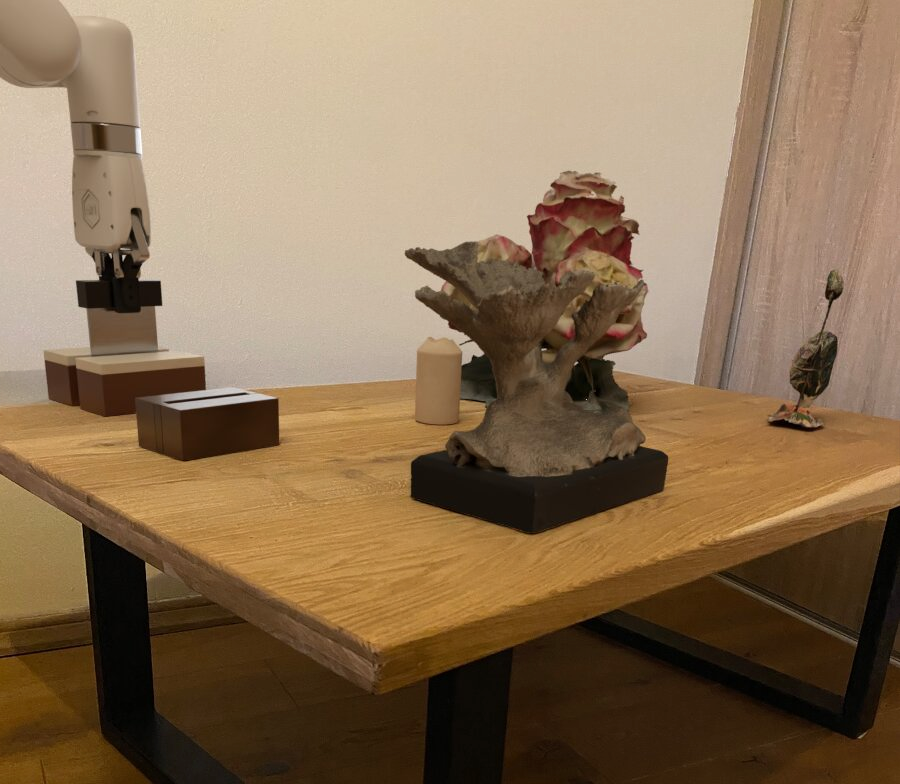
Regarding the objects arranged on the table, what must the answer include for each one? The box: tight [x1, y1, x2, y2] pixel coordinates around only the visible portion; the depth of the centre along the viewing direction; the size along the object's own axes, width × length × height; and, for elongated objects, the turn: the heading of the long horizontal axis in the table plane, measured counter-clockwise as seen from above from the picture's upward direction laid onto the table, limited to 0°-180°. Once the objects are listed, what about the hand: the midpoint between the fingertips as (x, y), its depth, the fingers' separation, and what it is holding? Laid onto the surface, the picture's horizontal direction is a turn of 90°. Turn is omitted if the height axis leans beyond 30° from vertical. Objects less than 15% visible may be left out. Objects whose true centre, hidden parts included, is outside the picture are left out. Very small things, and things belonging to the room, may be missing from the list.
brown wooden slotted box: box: [135, 386, 280, 462], centre depth 96 cm, size 12×8×5 cm, turn 139°
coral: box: [404, 240, 669, 534], centre depth 83 cm, size 25×20×21 cm
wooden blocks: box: [42, 346, 207, 418], centre depth 116 cm, size 14×14×6 cm
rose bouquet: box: [440, 170, 650, 414], centre depth 126 cm, size 26×29×30 cm
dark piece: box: [75, 278, 163, 357], centre depth 114 cm, size 10×2×10 cm, turn 139°
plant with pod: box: [766, 268, 845, 429], centre depth 122 cm, size 8×11×20 cm
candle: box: [414, 336, 463, 426], centre depth 114 cm, size 6×6×10 cm
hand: (121, 310), depth 113 cm, fingers closed on dark piece, 2 cm apart
